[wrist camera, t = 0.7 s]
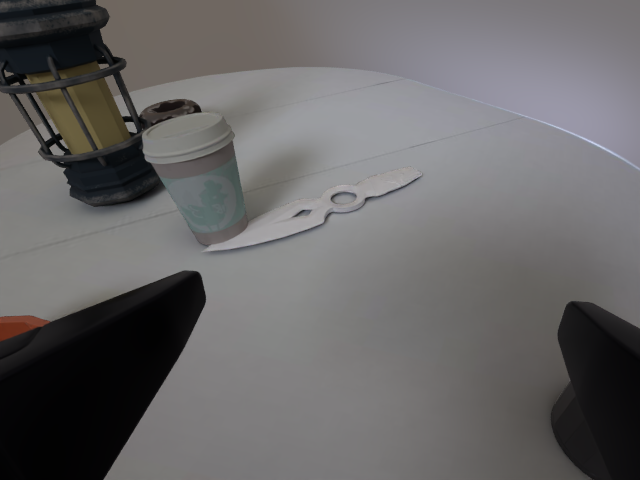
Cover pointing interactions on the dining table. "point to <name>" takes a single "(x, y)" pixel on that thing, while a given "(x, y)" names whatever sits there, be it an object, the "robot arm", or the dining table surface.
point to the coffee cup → (199, 173)
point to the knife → (314, 210)
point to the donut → (169, 110)
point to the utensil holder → (576, 435)
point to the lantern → (75, 96)
